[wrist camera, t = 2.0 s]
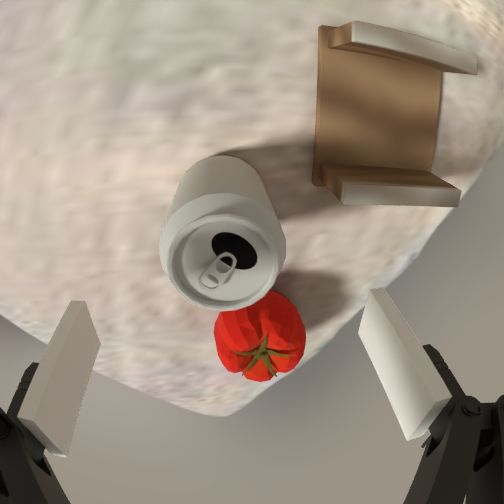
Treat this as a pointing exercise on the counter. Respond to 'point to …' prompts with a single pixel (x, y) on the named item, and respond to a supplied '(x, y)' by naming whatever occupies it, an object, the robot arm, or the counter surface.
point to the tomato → (261, 338)
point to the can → (222, 236)
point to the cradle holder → (381, 115)
